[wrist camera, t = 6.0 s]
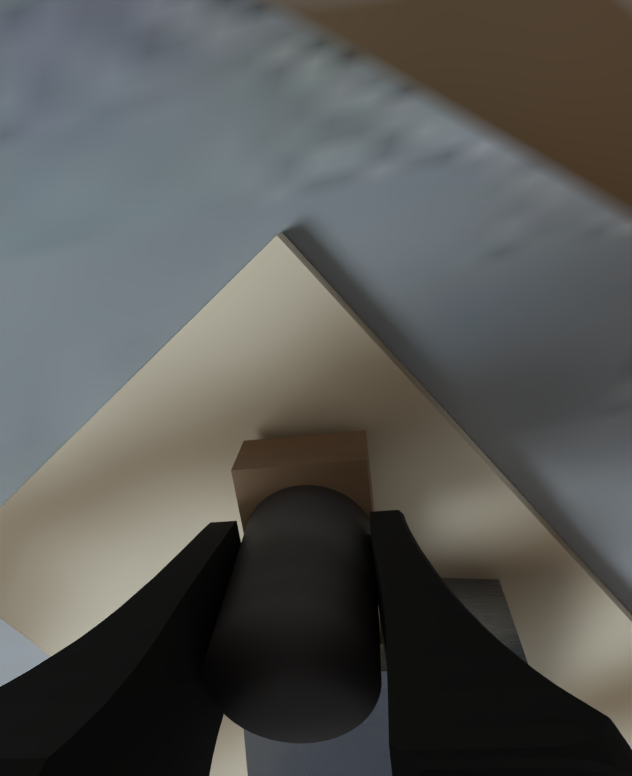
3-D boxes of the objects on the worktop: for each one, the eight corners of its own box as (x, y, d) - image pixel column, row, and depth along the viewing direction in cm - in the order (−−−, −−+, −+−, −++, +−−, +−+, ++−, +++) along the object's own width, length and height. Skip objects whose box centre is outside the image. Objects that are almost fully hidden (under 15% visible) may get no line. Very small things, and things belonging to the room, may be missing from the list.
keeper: (492, 560, 16) (533, 678, 12) (479, 680, 18) (511, 815, 14) (265, 553, 17) (238, 664, 13) (272, 670, 18) (249, 800, 14)
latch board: (712, 704, 17) (728, 727, 17) (366, 874, 21) (367, 899, 21) (281, 231, 13) (277, 235, 13) (-45, 552, 17) (-63, 569, 17)
